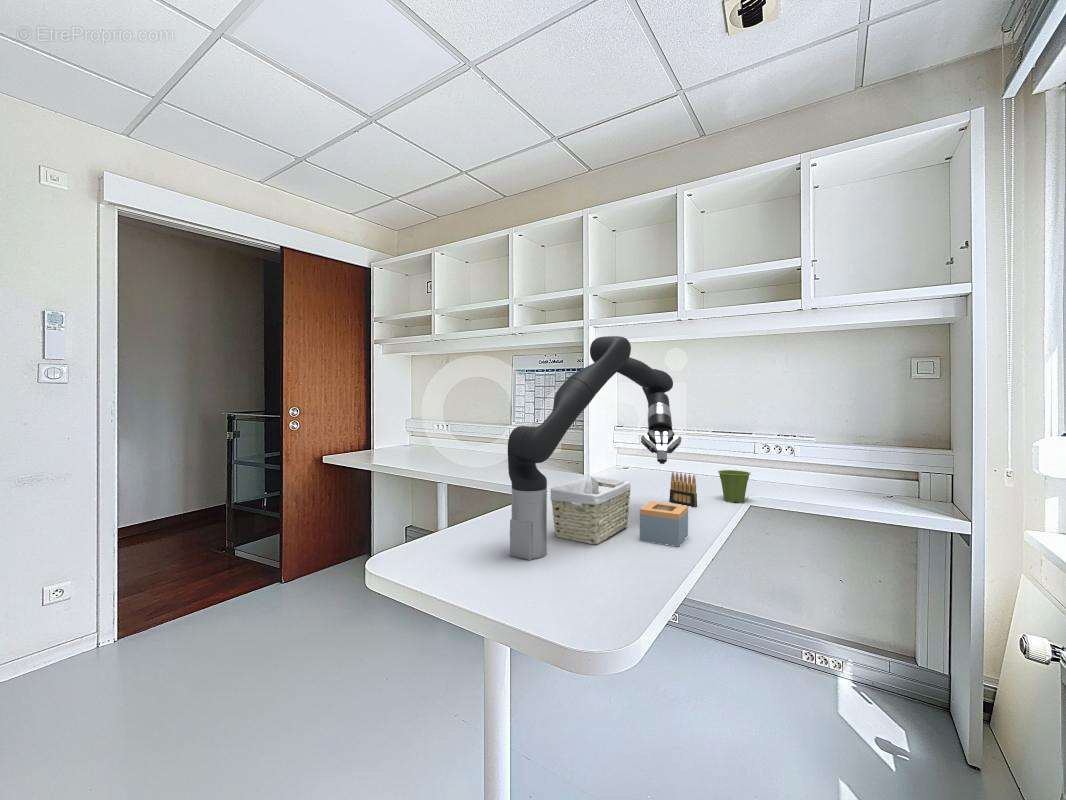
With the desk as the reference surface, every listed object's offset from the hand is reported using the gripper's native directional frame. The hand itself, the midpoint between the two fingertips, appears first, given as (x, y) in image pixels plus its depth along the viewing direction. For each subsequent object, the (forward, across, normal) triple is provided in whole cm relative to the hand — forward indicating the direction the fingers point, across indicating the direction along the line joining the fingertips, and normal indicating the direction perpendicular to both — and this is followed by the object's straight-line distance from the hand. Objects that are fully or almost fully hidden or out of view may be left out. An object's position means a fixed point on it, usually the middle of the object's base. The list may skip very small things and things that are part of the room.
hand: (662, 462), depth 144 cm
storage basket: (+19, -21, +11) cm, 30 cm away
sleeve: (+20, 0, +10) cm, 22 cm away
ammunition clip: (-11, +11, +41) cm, 43 cm away
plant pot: (-18, +31, +48) cm, 60 cm away
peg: (+20, 0, +10) cm, 22 cm away
